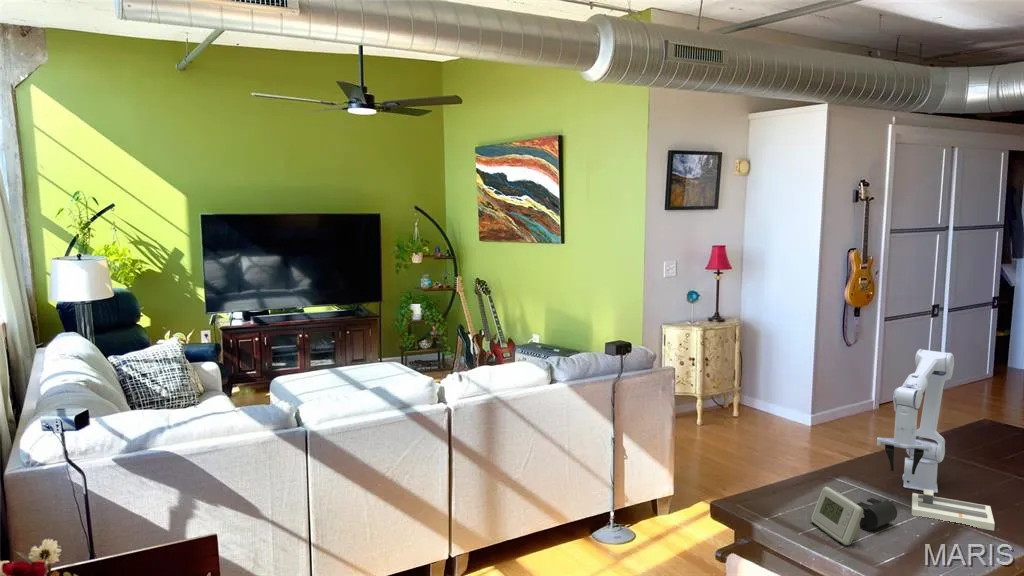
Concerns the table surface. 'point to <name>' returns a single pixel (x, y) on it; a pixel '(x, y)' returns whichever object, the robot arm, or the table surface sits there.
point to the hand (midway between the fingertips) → (902, 471)
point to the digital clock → (838, 516)
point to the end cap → (877, 513)
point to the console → (954, 511)
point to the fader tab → (928, 496)
